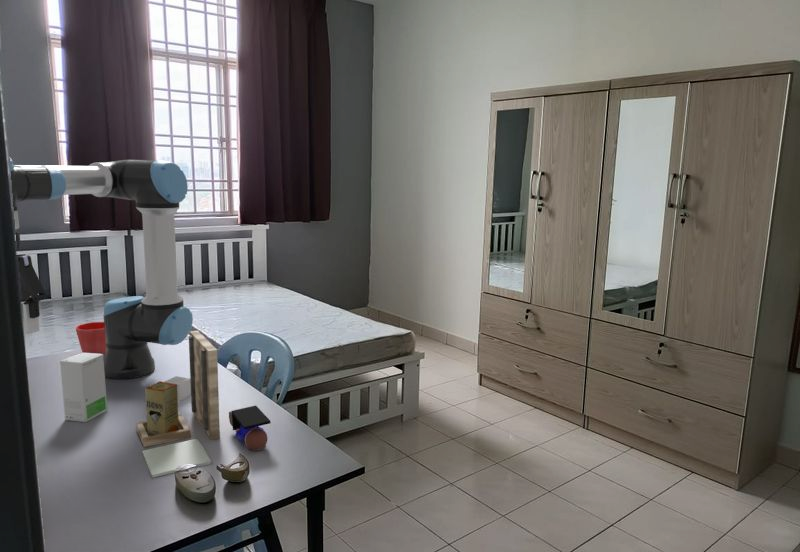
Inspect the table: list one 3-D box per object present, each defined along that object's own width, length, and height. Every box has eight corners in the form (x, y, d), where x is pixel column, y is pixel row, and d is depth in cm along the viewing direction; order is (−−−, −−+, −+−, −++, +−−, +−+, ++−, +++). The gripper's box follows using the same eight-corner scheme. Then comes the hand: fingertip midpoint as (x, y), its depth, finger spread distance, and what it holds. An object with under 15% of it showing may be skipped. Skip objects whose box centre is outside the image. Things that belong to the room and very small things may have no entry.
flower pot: (86, 348, 201) (84, 321, 199) (118, 348, 202) (117, 321, 200) (71, 358, 190) (69, 329, 188) (106, 358, 191) (104, 330, 189)
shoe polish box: (164, 439, 137) (162, 391, 135) (147, 435, 138) (145, 388, 136) (178, 430, 141) (176, 384, 139) (162, 427, 143) (160, 381, 141)
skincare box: (85, 423, 144) (81, 363, 141) (62, 420, 145) (57, 361, 142) (108, 410, 152) (104, 353, 149) (86, 407, 153) (82, 350, 150)
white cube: (164, 399, 160) (163, 382, 159) (176, 392, 165) (175, 376, 164) (179, 401, 159) (178, 384, 158) (191, 395, 163) (190, 378, 162)
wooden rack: (134, 423, 145) (129, 338, 140) (200, 410, 153) (197, 330, 149) (147, 454, 130) (141, 360, 126) (219, 437, 138) (217, 349, 134)
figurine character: (227, 436, 142) (245, 456, 130) (225, 406, 142) (243, 423, 129) (254, 430, 146) (274, 449, 133) (252, 401, 145) (272, 417, 132)
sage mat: (142, 453, 130) (142, 450, 130) (197, 441, 136) (197, 438, 136) (152, 477, 120) (152, 475, 120) (211, 463, 127) (211, 460, 126)
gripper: (-65, 229, 121) (-53, 327, 125) (28, 236, 114) (38, 339, 118) (-30, 226, 128) (-20, 319, 132) (60, 232, 121) (68, 330, 125)
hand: (7, 329), depth 125 cm, fingers open, 13 cm apart
